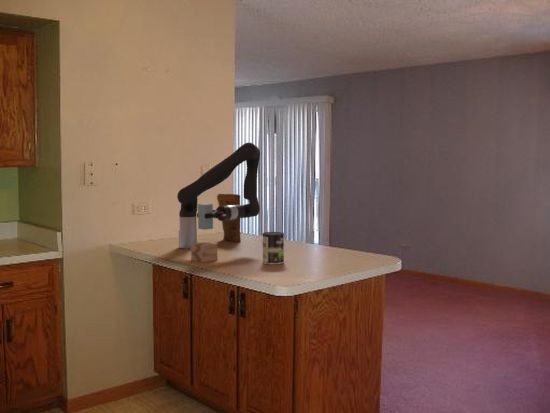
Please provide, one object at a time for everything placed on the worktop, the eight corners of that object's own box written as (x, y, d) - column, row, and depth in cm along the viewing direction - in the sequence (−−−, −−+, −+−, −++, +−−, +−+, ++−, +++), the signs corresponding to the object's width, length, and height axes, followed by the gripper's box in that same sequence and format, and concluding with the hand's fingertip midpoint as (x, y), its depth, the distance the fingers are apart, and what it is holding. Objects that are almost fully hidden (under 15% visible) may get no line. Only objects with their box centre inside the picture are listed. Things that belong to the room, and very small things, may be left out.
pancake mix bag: (236, 243, 328) (235, 194, 325) (216, 239, 342) (215, 193, 339) (245, 242, 332) (244, 194, 329) (225, 238, 346) (224, 192, 343)
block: (191, 259, 277) (190, 243, 276) (205, 257, 283) (205, 241, 283) (203, 262, 271) (203, 245, 270) (217, 259, 277) (217, 243, 277)
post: (198, 228, 276) (197, 204, 274) (206, 227, 279) (205, 203, 278) (205, 229, 272) (204, 204, 271) (212, 228, 276) (212, 203, 275)
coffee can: (288, 261, 271) (288, 232, 270) (276, 265, 263) (276, 235, 261) (270, 259, 277) (269, 231, 275) (258, 263, 268) (258, 233, 267)
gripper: (217, 204, 290) (191, 207, 277) (237, 206, 281) (211, 208, 268) (217, 219, 291) (191, 222, 278) (237, 221, 281) (211, 224, 269)
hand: (201, 215), depth 273 cm, fingers closed on post, 5 cm apart
